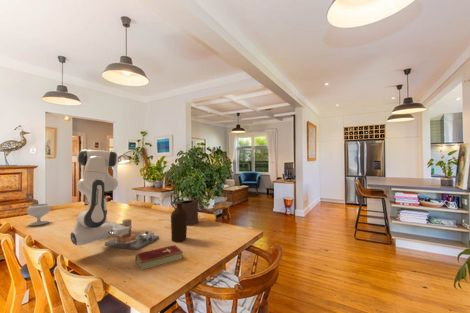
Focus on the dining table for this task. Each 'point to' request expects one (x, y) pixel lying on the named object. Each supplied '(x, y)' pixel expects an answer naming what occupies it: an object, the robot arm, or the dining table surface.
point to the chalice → (38, 212)
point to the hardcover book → (158, 256)
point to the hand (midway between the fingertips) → (128, 225)
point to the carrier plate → (134, 241)
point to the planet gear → (126, 237)
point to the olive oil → (178, 223)
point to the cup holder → (190, 210)
